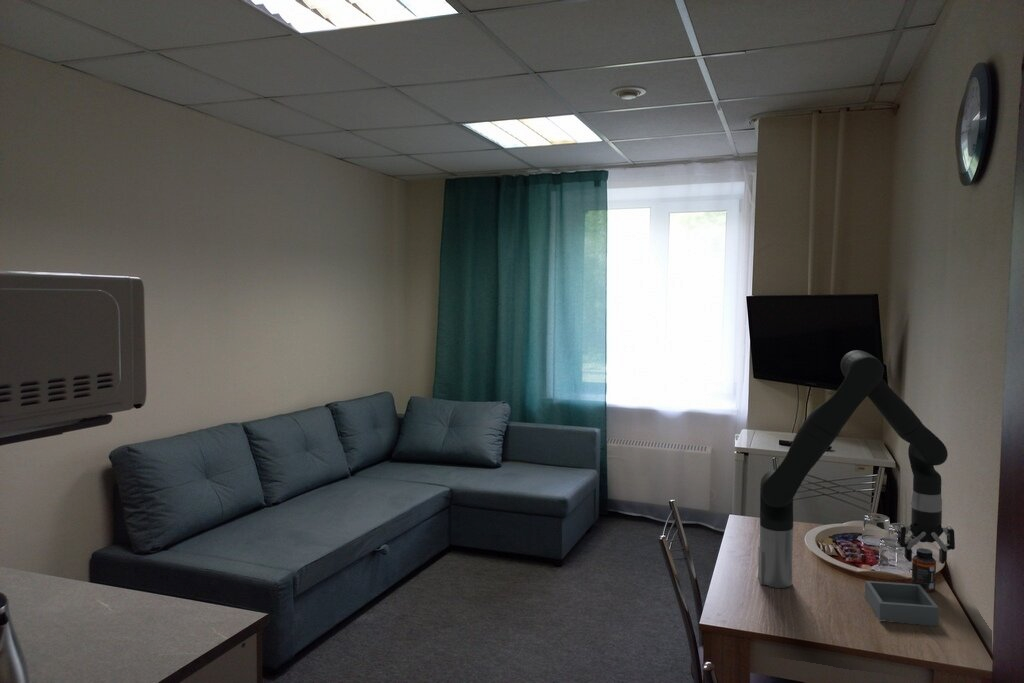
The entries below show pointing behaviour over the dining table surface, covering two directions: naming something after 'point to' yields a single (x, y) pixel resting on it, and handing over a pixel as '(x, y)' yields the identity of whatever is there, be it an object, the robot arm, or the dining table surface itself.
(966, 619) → the dining table surface
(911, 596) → the grey bin
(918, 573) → the supplement bottle
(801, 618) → the dining table surface
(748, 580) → the dining table surface
